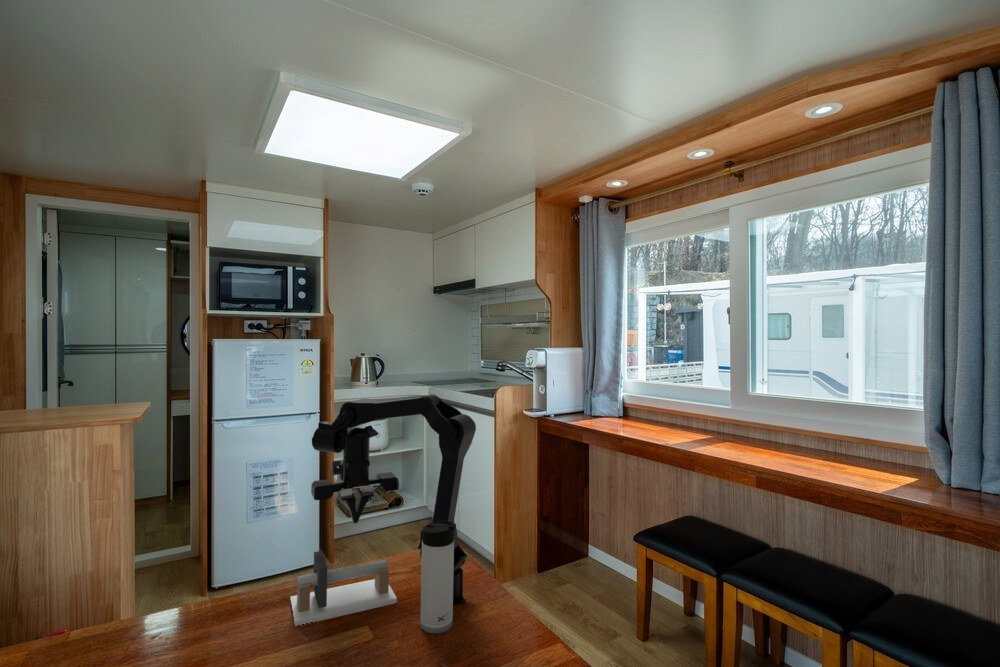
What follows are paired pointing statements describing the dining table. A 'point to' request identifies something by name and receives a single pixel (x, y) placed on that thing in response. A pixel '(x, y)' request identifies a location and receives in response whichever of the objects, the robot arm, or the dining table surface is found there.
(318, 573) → the dark grey flat block
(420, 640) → the dining table surface
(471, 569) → the dining table surface
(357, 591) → the pipe stand
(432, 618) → the travel mug
